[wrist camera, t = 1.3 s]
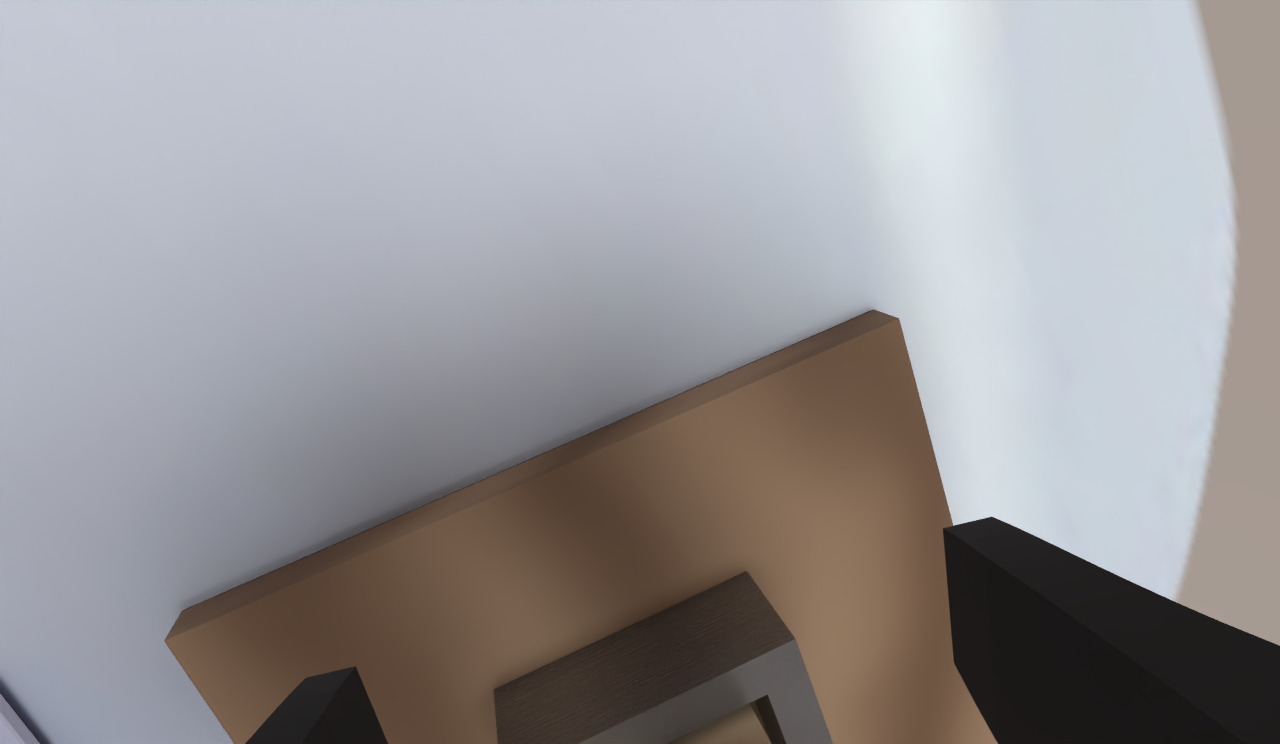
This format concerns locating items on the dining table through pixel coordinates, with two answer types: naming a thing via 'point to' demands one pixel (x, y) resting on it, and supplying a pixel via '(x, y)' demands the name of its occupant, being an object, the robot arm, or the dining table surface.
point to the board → (637, 560)
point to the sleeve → (670, 678)
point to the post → (728, 730)
